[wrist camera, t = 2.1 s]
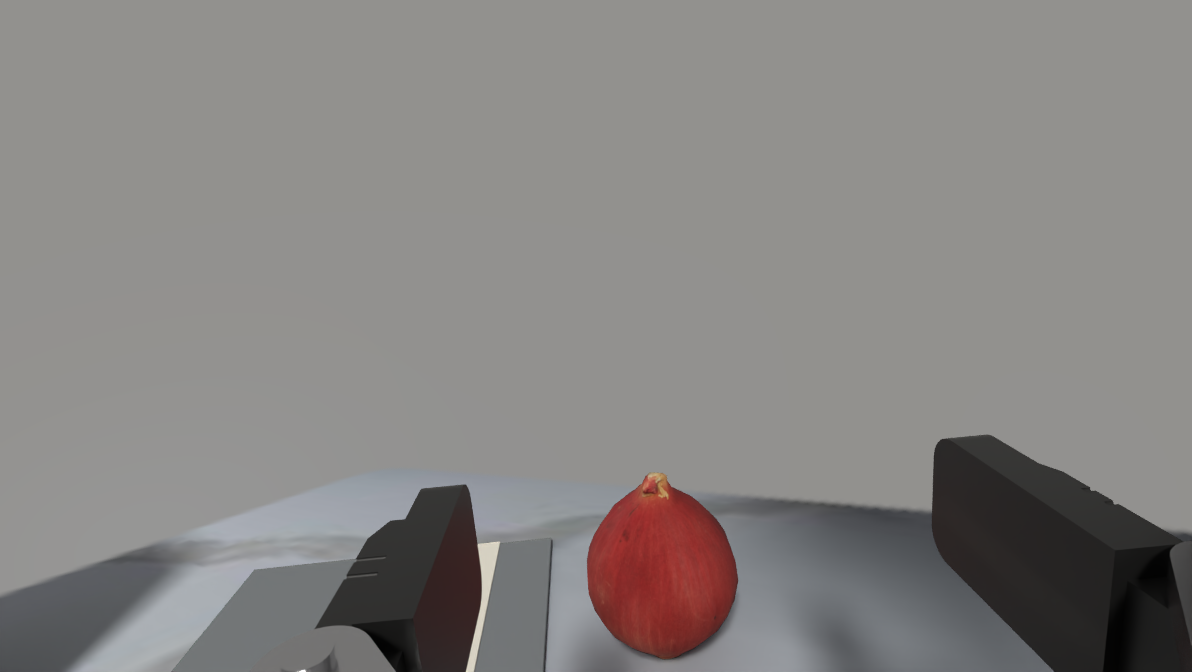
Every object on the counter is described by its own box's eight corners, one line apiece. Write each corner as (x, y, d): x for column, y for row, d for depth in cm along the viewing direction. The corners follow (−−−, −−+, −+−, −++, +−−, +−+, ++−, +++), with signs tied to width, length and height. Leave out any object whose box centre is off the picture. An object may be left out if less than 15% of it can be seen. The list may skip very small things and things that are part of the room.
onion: (576, 631, 28) (555, 460, 26) (693, 590, 30) (682, 428, 28) (632, 732, 23) (611, 527, 21) (770, 674, 24) (762, 481, 23)
